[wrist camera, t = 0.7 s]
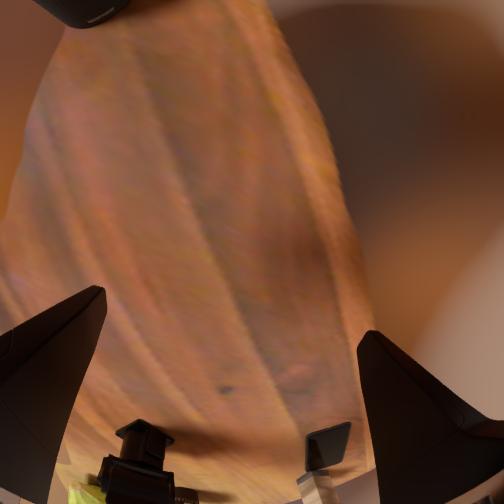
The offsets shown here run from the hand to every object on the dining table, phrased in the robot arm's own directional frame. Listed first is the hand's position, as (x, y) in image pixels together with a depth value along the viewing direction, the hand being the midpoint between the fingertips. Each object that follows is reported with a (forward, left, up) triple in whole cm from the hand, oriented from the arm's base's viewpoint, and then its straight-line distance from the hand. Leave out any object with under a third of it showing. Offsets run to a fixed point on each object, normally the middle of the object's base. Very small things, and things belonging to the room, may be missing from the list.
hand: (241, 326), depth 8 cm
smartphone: (-12, -38, -16) cm, 43 cm away
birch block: (-20, -46, -15) cm, 53 cm away
